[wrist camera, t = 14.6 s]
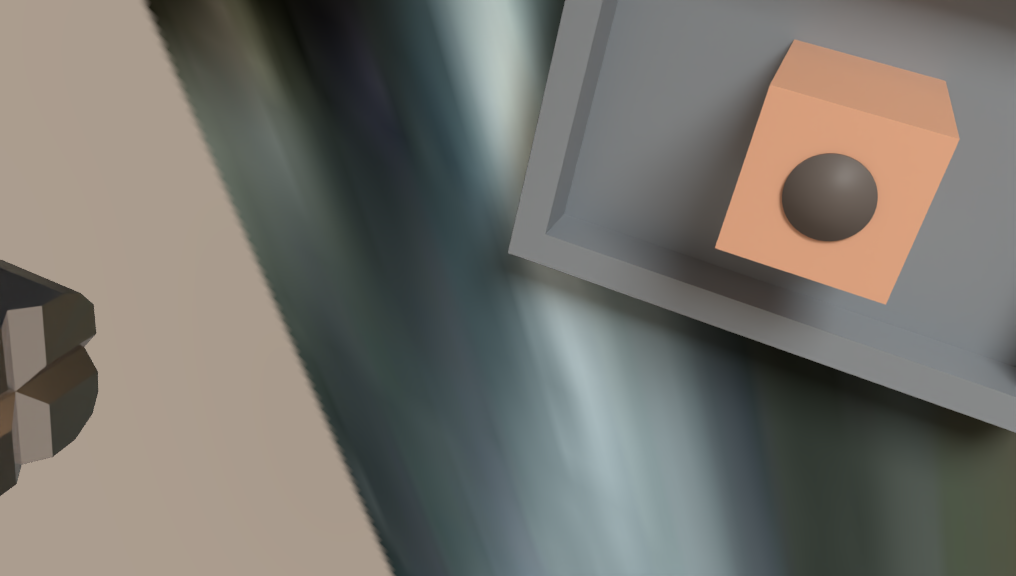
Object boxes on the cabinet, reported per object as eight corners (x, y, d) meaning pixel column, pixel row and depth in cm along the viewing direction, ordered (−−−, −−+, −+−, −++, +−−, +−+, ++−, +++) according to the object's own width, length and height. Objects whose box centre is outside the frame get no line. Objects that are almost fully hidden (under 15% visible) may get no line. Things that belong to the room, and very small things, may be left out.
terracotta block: (794, 39, 26) (769, 85, 20) (945, 80, 25) (960, 140, 20) (747, 175, 28) (714, 249, 22) (887, 218, 27) (886, 306, 21)
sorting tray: (628, -172, 26) (604, -175, 23) (1280, -16, 22) (1321, -2, 20) (534, 225, 31) (508, 252, 29) (1041, 400, 28) (1053, 446, 26)
